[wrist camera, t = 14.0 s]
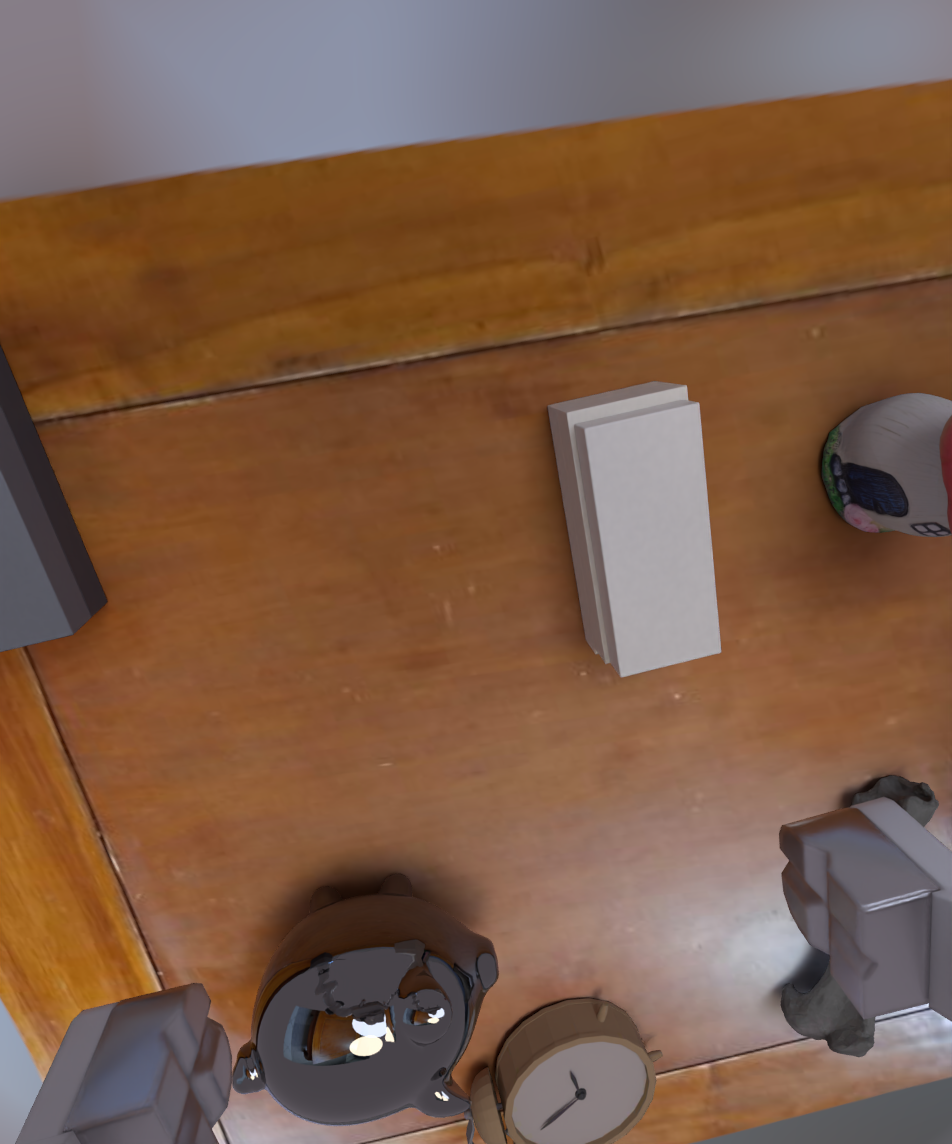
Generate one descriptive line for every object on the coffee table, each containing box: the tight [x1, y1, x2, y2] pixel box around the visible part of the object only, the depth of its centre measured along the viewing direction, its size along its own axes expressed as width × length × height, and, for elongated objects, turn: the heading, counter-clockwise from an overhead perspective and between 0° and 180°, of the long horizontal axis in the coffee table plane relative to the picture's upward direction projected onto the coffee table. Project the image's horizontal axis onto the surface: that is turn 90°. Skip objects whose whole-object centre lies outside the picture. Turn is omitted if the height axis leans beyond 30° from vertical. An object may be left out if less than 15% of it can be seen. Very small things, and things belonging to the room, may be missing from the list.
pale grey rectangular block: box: [574, 400, 721, 677], centre depth 34 cm, size 13×6×2 cm, turn 11°
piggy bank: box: [232, 874, 499, 1126], centre depth 40 cm, size 11×15×12 cm
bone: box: [781, 775, 939, 1057], centre depth 47 cm, size 22×6×6 cm, turn 174°
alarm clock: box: [464, 998, 663, 1144], centre depth 50 cm, size 11×5×15 cm
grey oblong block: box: [548, 381, 688, 664], centre depth 37 cm, size 14×6×4 cm, turn 12°
